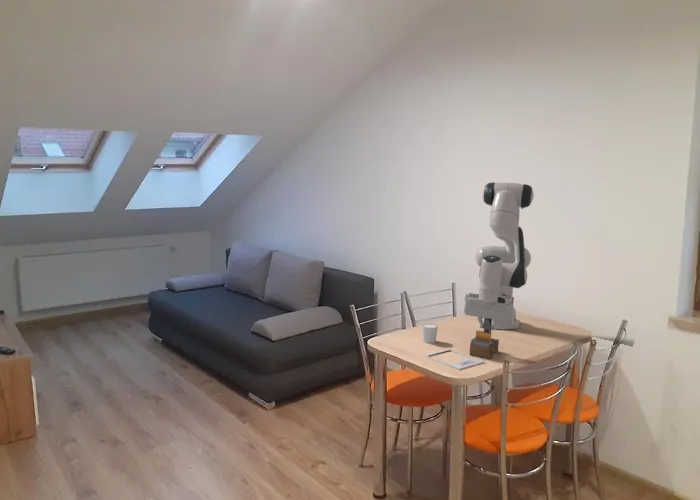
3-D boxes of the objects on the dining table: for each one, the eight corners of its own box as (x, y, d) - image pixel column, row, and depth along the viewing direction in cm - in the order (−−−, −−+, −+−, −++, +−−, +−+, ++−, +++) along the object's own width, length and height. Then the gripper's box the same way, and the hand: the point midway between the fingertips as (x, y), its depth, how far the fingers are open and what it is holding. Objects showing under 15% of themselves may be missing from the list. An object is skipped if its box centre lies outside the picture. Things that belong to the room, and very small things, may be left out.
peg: (484, 339, 231) (485, 316, 229) (491, 340, 229) (492, 317, 228) (482, 341, 228) (483, 317, 227) (489, 342, 227) (490, 318, 225)
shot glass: (437, 340, 244) (438, 324, 243) (436, 344, 237) (436, 328, 236) (422, 338, 246) (423, 323, 245) (420, 342, 239) (420, 327, 238)
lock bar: (475, 340, 227) (475, 330, 227) (492, 343, 224) (492, 333, 223) (470, 343, 223) (471, 332, 223) (488, 346, 219) (488, 336, 219)
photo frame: (458, 368, 207) (424, 355, 221) (458, 371, 207) (424, 357, 221) (484, 361, 216) (449, 348, 230) (484, 363, 216) (449, 351, 230)
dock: (479, 347, 235) (480, 336, 234) (498, 351, 230) (498, 339, 230) (469, 355, 224) (470, 343, 224) (488, 359, 220) (489, 347, 220)
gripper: (462, 293, 229) (460, 326, 231) (512, 300, 218) (509, 334, 220) (468, 291, 234) (466, 322, 236) (516, 297, 223) (514, 331, 225)
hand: (487, 328), depth 228 cm, fingers closed on peg, 3 cm apart
